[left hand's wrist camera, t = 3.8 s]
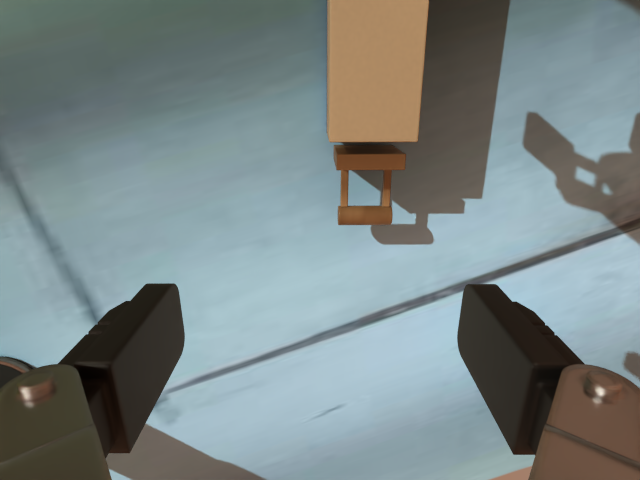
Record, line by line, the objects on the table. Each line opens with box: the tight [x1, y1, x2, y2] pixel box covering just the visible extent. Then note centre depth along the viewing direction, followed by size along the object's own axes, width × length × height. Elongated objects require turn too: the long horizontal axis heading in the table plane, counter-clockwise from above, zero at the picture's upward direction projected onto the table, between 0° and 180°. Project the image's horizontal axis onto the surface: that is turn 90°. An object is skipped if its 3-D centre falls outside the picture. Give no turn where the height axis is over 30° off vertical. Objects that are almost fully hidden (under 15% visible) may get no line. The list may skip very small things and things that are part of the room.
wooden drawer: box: [334, 145, 406, 225], centre depth 31 cm, size 23×5×6 cm, turn 0°
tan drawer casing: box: [327, 0, 429, 142], centre depth 29 cm, size 19×6×8 cm, turn 0°
